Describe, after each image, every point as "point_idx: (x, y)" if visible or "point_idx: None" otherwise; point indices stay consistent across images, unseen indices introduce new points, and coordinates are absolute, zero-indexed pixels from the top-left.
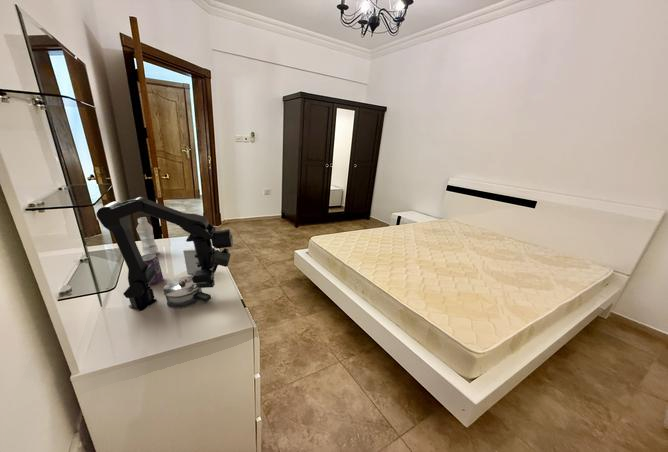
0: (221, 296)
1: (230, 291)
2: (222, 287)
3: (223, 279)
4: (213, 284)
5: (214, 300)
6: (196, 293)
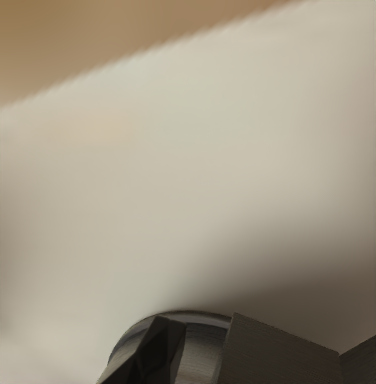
0: (287, 168)
1: (220, 69)
2: (126, 158)
3: (8, 149)
4: (294, 366)
5: (335, 236)
6: None
